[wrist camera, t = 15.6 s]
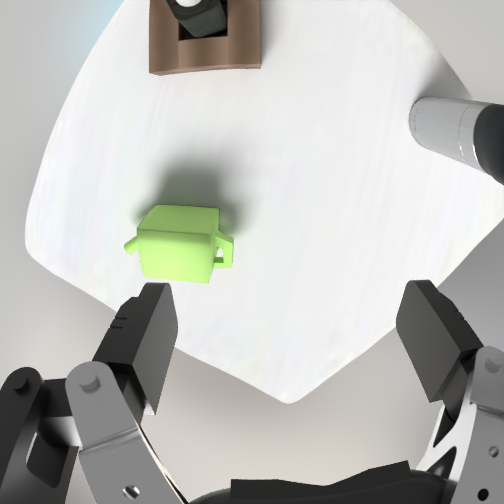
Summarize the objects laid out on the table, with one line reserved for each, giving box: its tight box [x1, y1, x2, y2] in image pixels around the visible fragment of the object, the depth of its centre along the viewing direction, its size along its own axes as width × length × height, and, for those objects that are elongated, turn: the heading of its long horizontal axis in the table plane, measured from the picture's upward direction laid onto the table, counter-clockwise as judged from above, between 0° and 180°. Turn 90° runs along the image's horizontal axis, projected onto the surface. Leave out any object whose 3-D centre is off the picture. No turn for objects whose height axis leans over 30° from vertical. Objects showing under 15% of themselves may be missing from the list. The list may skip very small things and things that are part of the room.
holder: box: [149, 0, 261, 76], centre depth 32 cm, size 15×15×5 cm
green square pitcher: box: [124, 205, 234, 283], centre depth 46 cm, size 18×10×10 cm, turn 86°
